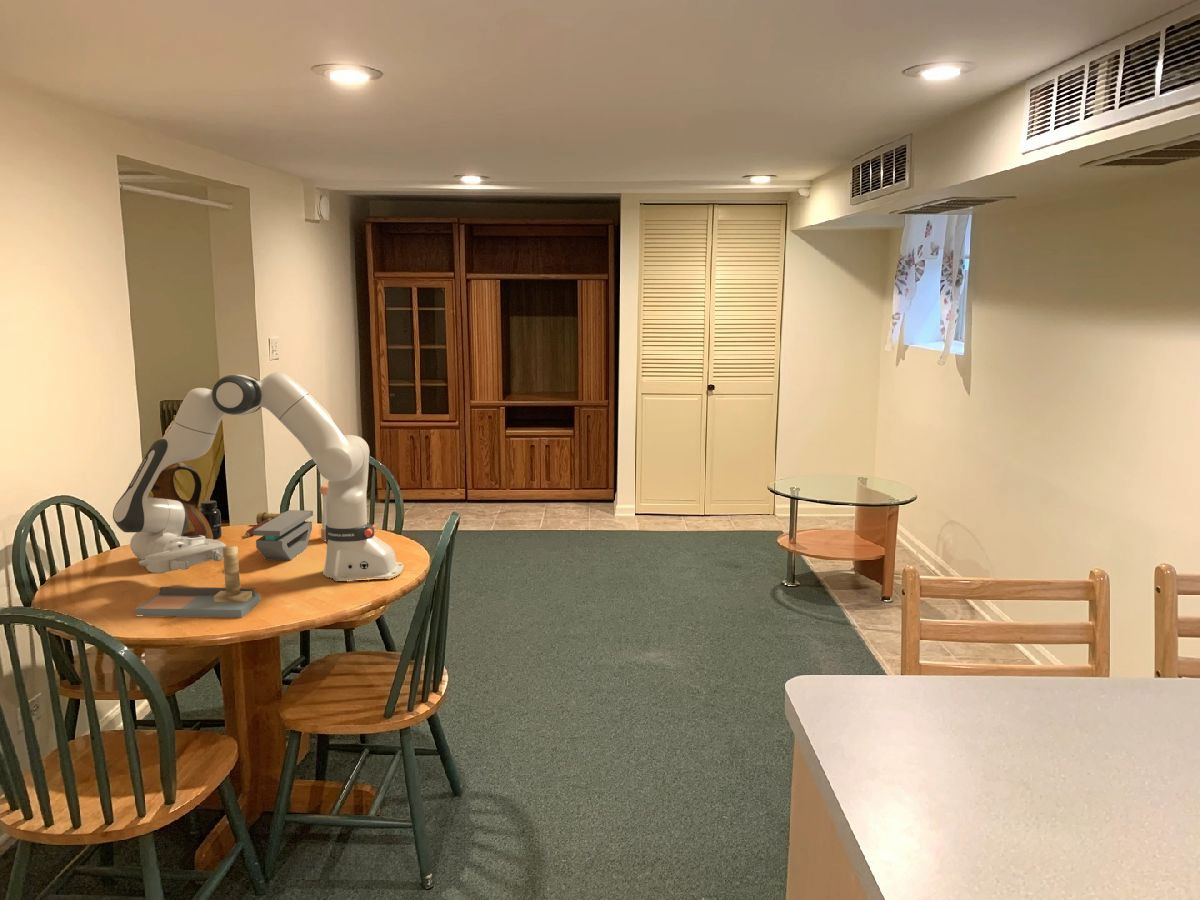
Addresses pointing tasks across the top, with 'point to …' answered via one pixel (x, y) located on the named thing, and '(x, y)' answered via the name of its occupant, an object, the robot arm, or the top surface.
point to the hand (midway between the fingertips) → (203, 562)
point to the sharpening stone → (284, 535)
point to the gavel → (261, 522)
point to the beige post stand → (232, 578)
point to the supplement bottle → (212, 517)
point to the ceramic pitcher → (167, 491)
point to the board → (195, 603)
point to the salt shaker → (324, 510)
